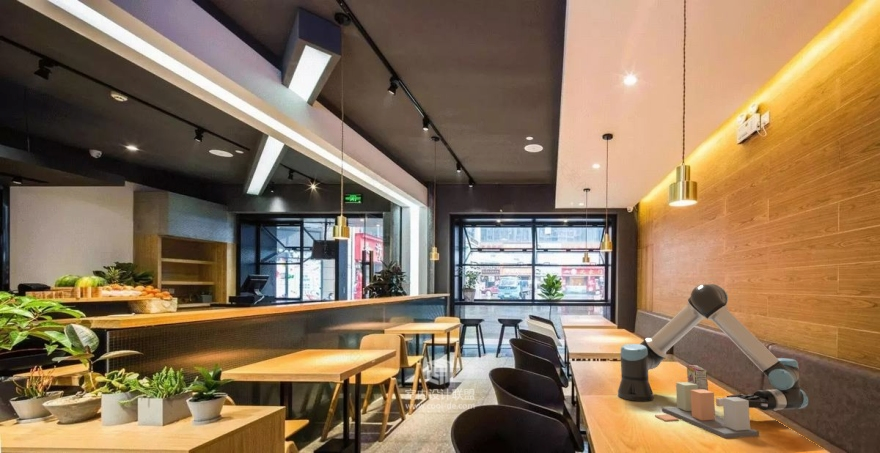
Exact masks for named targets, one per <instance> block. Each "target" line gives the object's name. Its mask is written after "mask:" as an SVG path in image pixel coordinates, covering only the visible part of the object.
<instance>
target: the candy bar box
mask: <svg viewBox="0 0 880 453" xmlns="http://www.w3.org/2000/svg"><path fill="white" fill-rule="evenodd" d="M686 374H687V375H686V376H687V377H686V378H687V382H690V383H693V384H696V385H698V390H701V389H704V390H707V391H709V386H708V371H707V369H704V368H702V367H701V366H699V365H694V364H693V365H691V364H687V365H686Z"/></svg>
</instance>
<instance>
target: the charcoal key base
mask: <svg viewBox="0 0 880 453" xmlns="http://www.w3.org/2000/svg"><path fill="white" fill-rule="evenodd" d="M661 410H662V411H661V412H663V413H664V414H665V413H666V414H668V415H671V416H673V417H675V418H678V419H679V420H681V419H682V421H683V422H686V423H688V422H689V423H688V424H691V425H693V426H695V425H696V427H697V428H701V429H702V428H703V430H704V431H705V430H706V431H707V432H710V433H712V434H715V435H717V436H719V437H722V438H724V439H731V438H733V439H734V438H747V437H759V436H760V431H759V430H756V429H753V428H751V427H750V430H739V431H736V430H733V429H730V428H728V427H725V426H724V417H722V416H719V415H716V414H715V420H703V421H701V420H699V419H697V418H694V417H692V411H685V410H682V409H680V408H677V406H670V407H669V406H667V407H662V408H661Z"/></svg>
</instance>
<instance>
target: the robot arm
mask: <svg viewBox="0 0 880 453" xmlns="http://www.w3.org/2000/svg"><path fill="white" fill-rule="evenodd" d="M728 299H729V297H728V294H727V292H726V291H725V289H724V288H723V287H721V286H719V285H717V284H714V283H708V284H706V283H704V284H700V285H696V286H695V287H694V288H693V290H692V291H691V293H690V297H689V298H688V299H687V301H686V302H687V304H686V306H684V307H683V308H682V309H681V310H680V311H679V312H678V313H677V314H676V315H675V316H674V317H672V318H671V319H670V320H669V321H668V322H667V323H666V324H665V325H664V326H663V327H662V328H661V329H659V331H657V332H656V333H655V334H654V335H653V336H651V337H646V338H644V340H642V341H641V342H640V343H627V344H623V345H622V346H621V348H620V352H619V355H620V371H621V377H620V378H621V379H620V383H619V386H618V390H617V396H618V397H619V398H621V399H624V400H627V401H628V400H629V401H633V402H634V401H636V402H650V401H653V400H654V392H653V390H652V387H651V385H650V382H649V380H650V379H649V370H653V369H655V368H657V367H658V366H660V365H661V362H662V361H663V360H664V359H665V358H667V351H669V350H670V349H671V348H672V347H673V346H675V345H676V343H678V342H679V341H680V340H681V339H682V338H684V336H685V335H687V334H688V333H689V332H690V331H691V330H692V329H693V328H694V327H696V325H698V324H699V323H700V322H701V321H703V320H704V319H706V320H708V321H712V322H713V323H714V325H716V326H717V327H718V328H719V329H720V331H722V332H723V333H724V334H725V335H726V336H727V337H728V338H729V339H730V340H731V341H732V342H733V343H734V345H736V347H737V348H738V349H739V350H740V351H741V352H742V353H743V354H744V355H745V356H746V357H747V358H748V359H749V360H750V361H751V362H752V363H753V364H754V365H755V366H756V367H757V368H758V369H759V370H760V372H762V373H763V374H764V376H766V378H768V381H769V383H770V385H771V386H772V387H774V389H760V390H759V389H757V390H755V392H753V394H752V393H751V394H745V395H744V394H743V393H740V392H739V393H737V394H732V395H726V397H738V398H742V399H745V400H748V401H749V409H750V408H751V409H752V408H755V409H759V410H761V411H775V412H777V411H778V410H799V409H803V408H806V407H807V406H808V404H809V397H808V396H807V393H806V392H805V391H804V390H802V389H801V386H800V367H799V363H798V361H797V360H796V359H793V358H784V357H776V355H775V354H773V353H772V352H771V351H770V350H769V349H768V348H767V346H765V345H764V344H763V343H762V342H761V340H759V338H757V337H756V335H754V334H753V333H752V332H751V331H750V330H749V329H748V328H747V327H746V326H745V325H744V324H743V323H742V322H741V321H740V320H739V319H738V318H737V317H736V316H735V315H734V314H733V313H732V312H730V310H729V309H728V305H727V304H728ZM723 398H724V397H718V398H717V397H716V398H715V404H716V406H715V407H719V408H720V407H721V408H722V407H723Z"/></svg>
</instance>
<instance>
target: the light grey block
mask: <svg viewBox="0 0 880 453" xmlns="http://www.w3.org/2000/svg"><path fill="white" fill-rule="evenodd" d="M722 398H723V406H722V407H723V409H722V410H723V418H724V426H725V427H728V428H730V429H733V430H736V431H739V430H750V428H751V420H750V408H749V401H748V400H745V399H742V398H738V397H727V396H726V397H722Z"/></svg>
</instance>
